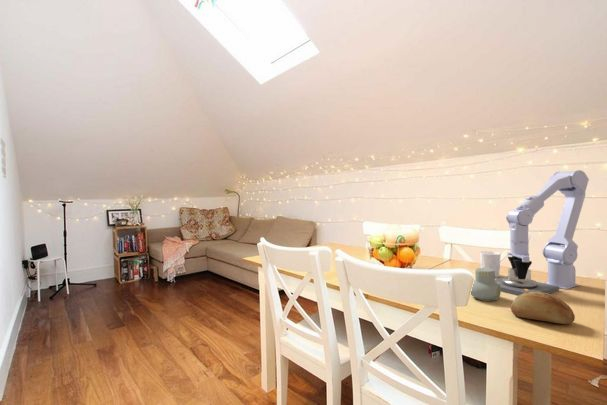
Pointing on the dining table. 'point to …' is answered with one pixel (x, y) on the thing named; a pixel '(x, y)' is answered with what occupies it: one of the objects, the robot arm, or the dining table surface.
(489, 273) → the air freshener
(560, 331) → the dining table surface
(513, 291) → the dial base
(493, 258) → the white cup
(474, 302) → the dining table surface
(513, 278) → the dial
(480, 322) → the dining table surface
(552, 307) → the bread roll
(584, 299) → the dining table surface
